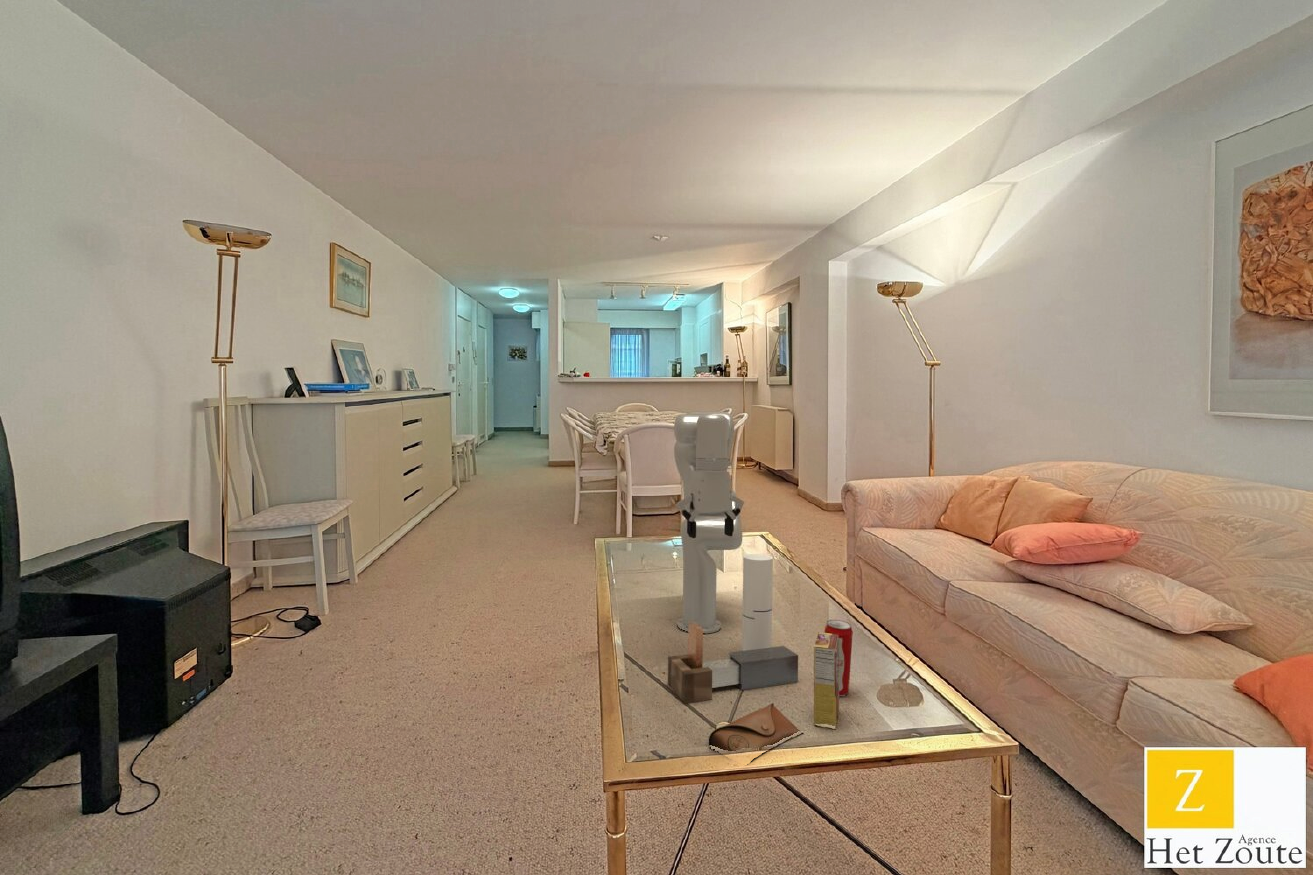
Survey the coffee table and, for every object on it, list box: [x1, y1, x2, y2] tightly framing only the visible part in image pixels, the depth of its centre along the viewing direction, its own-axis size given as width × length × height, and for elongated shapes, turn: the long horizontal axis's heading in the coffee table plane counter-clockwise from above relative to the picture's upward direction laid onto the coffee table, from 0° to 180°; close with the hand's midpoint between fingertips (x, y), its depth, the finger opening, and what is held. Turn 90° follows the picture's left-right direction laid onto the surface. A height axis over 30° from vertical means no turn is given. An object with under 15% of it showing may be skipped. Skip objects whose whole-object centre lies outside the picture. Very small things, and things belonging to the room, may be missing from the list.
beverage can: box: [823, 619, 854, 697], centre depth 126 cm, size 6×6×15 cm
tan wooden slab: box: [687, 622, 741, 689], centre depth 128 cm, size 4×14×13 cm, turn 110°
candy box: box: [813, 632, 840, 726], centre depth 114 cm, size 9×4×15 cm, turn 158°
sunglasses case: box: [708, 702, 801, 751], centre depth 106 cm, size 18×7×7 cm
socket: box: [667, 653, 713, 704], centre depth 125 cm, size 10×6×6 cm, turn 20°
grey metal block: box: [728, 645, 799, 691], centre depth 131 cm, size 6×14×6 cm, turn 109°
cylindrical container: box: [741, 553, 774, 651], centre depth 144 cm, size 7×7×25 cm
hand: (710, 536), depth 142 cm, fingers open, 9 cm apart
